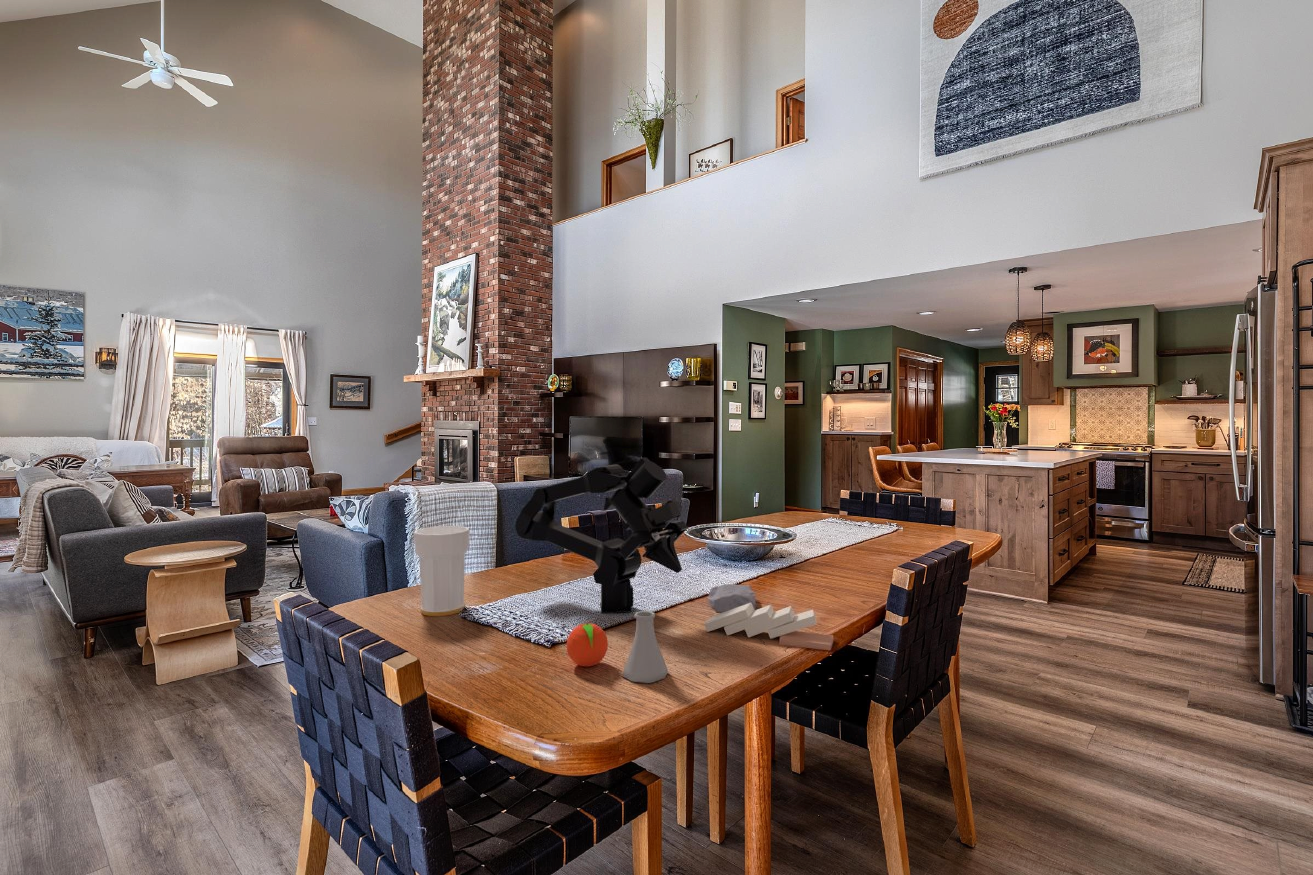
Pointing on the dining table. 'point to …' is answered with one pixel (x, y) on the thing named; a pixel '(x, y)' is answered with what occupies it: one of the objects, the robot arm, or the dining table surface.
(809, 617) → the domino
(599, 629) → the clementine
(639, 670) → the flask
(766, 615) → the domino
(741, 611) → the domino
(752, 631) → the domino
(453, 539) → the cup
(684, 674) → the dining table surface
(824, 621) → the dining table surface
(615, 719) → the dining table surface
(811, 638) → the domino
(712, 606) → the stone block
